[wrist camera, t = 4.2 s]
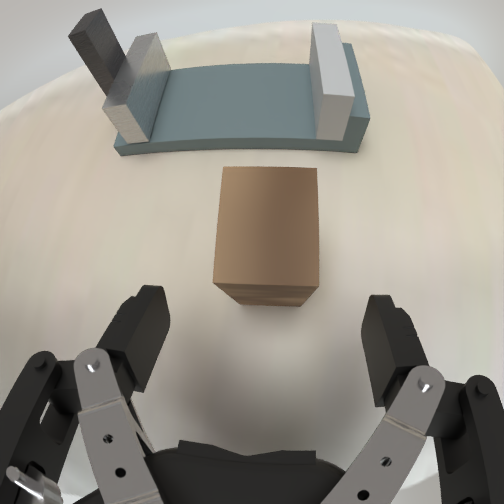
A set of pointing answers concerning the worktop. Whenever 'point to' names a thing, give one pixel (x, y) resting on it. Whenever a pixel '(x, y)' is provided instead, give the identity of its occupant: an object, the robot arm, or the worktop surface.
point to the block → (268, 235)
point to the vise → (264, 104)
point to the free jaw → (124, 74)
